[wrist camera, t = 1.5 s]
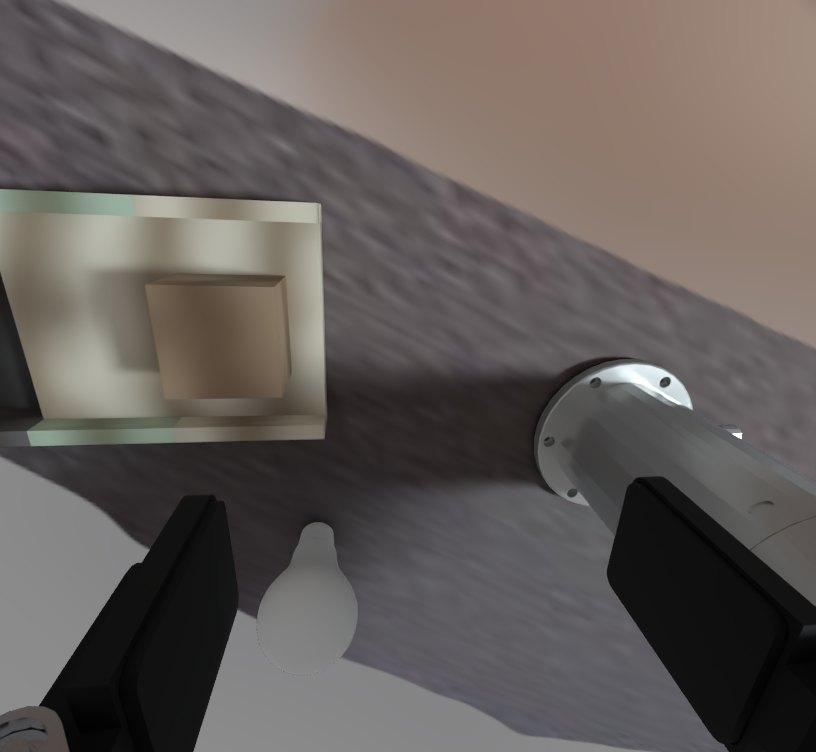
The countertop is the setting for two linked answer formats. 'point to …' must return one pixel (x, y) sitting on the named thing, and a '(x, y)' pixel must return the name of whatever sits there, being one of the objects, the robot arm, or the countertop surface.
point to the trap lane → (143, 315)
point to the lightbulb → (308, 608)
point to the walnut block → (221, 335)
